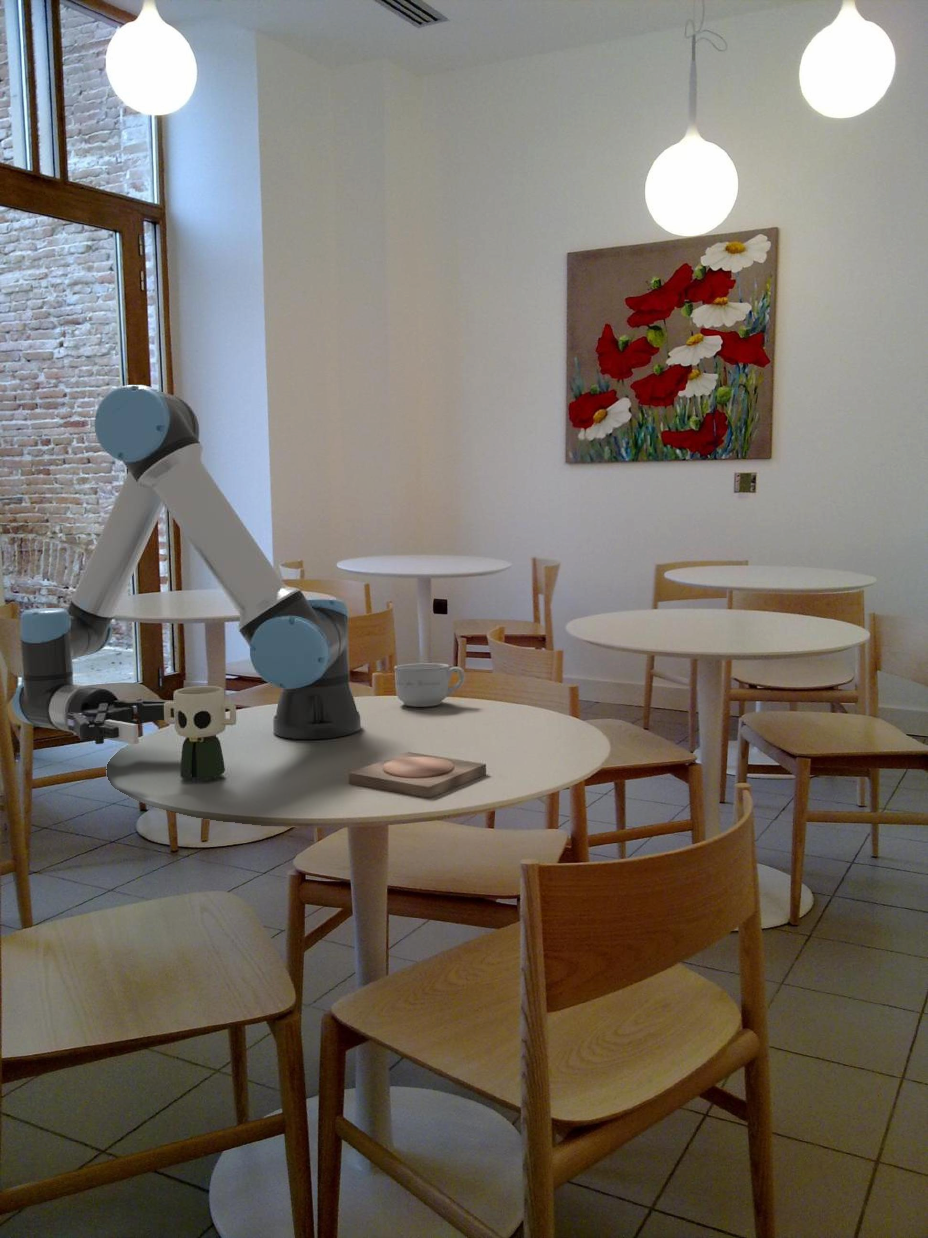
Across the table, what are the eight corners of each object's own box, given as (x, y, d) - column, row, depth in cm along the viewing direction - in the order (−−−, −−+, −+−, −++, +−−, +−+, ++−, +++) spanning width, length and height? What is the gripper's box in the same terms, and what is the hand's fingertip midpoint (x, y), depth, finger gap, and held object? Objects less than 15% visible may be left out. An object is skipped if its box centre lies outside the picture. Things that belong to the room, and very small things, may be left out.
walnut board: (409, 761, 153) (408, 749, 153) (486, 774, 145) (485, 761, 145) (348, 783, 142) (348, 770, 141) (429, 798, 134) (428, 784, 134)
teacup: (385, 708, 194) (384, 667, 193) (409, 698, 204) (408, 659, 203) (452, 713, 189) (451, 671, 188) (473, 702, 199) (472, 662, 198)
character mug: (156, 784, 143) (151, 694, 141) (177, 771, 150) (173, 685, 148) (229, 786, 141) (225, 695, 140) (247, 772, 148) (244, 686, 147)
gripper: (152, 719, 170) (239, 733, 158) (14, 750, 149) (102, 769, 137) (149, 675, 169) (237, 686, 157) (11, 700, 148) (99, 715, 136)
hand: (175, 725), depth 147 cm, fingers open, 13 cm apart
